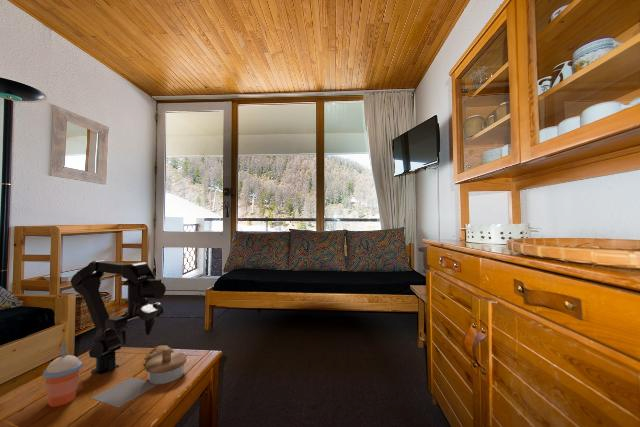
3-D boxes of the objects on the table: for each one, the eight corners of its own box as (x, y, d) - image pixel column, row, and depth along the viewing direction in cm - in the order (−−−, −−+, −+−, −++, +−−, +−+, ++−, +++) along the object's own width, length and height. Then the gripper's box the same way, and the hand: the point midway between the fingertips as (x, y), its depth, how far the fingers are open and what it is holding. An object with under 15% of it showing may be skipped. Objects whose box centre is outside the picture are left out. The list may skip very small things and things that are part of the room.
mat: (90, 399, 90) (90, 397, 90) (131, 378, 102) (131, 377, 102) (118, 409, 85) (118, 407, 85) (157, 385, 97) (157, 384, 97)
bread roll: (156, 378, 108) (164, 360, 108) (136, 364, 110) (143, 346, 110) (174, 365, 118) (182, 348, 117) (155, 353, 120) (162, 336, 119)
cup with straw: (62, 392, 93) (63, 337, 94) (88, 392, 93) (90, 337, 94) (33, 410, 84) (34, 349, 85) (62, 411, 84) (64, 349, 85)
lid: (136, 369, 99) (137, 353, 99) (169, 353, 111) (169, 339, 112) (163, 376, 94) (163, 360, 95) (194, 358, 106) (194, 344, 107)
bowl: (141, 381, 100) (141, 368, 100) (168, 366, 110) (168, 354, 110) (163, 387, 96) (164, 374, 96) (190, 371, 106) (190, 359, 106)
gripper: (125, 306, 94) (125, 354, 93) (174, 293, 111) (173, 333, 111) (104, 302, 98) (103, 348, 97) (154, 290, 115) (153, 329, 115)
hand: (136, 339), depth 105 cm, fingers open, 9 cm apart
